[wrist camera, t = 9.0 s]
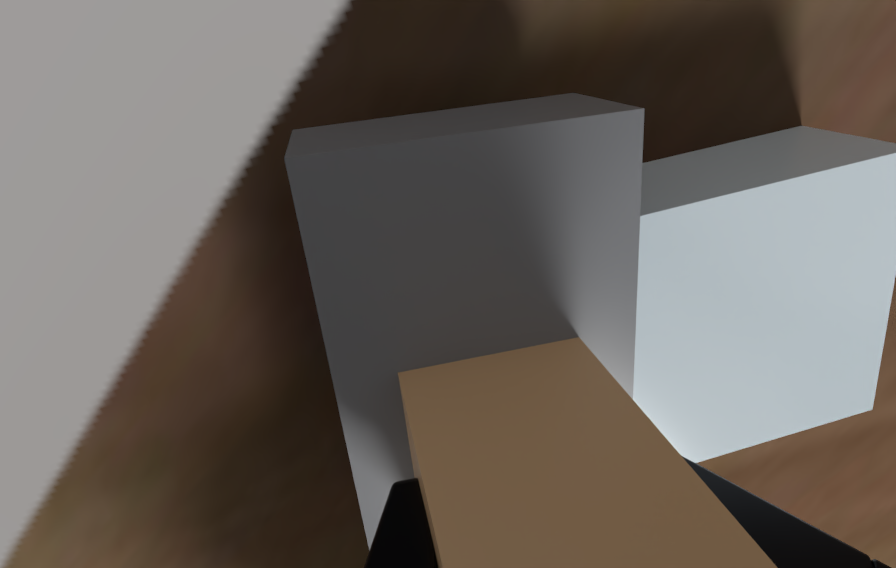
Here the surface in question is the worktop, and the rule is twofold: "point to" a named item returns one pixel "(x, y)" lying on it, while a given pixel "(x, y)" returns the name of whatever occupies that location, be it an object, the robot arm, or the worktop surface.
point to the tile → (763, 286)
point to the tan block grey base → (500, 334)
